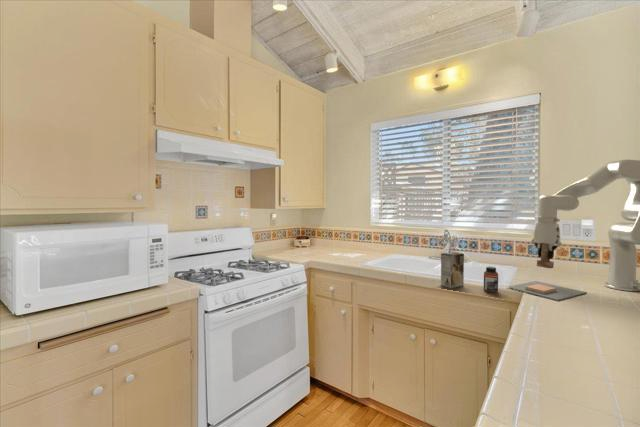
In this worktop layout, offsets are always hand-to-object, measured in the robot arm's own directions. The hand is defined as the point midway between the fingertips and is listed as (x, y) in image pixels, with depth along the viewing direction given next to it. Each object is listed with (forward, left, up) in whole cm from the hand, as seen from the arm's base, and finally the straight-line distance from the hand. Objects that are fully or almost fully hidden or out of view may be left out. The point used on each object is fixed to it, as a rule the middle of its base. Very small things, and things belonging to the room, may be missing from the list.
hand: (545, 257), depth 158 cm
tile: (-5, +13, -13) cm, 19 cm away
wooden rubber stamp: (0, 0, -5) cm, 5 cm away
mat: (-5, +9, -14) cm, 17 cm away
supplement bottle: (+6, +33, -14) cm, 36 cm away
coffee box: (+21, +41, -14) cm, 48 cm away
